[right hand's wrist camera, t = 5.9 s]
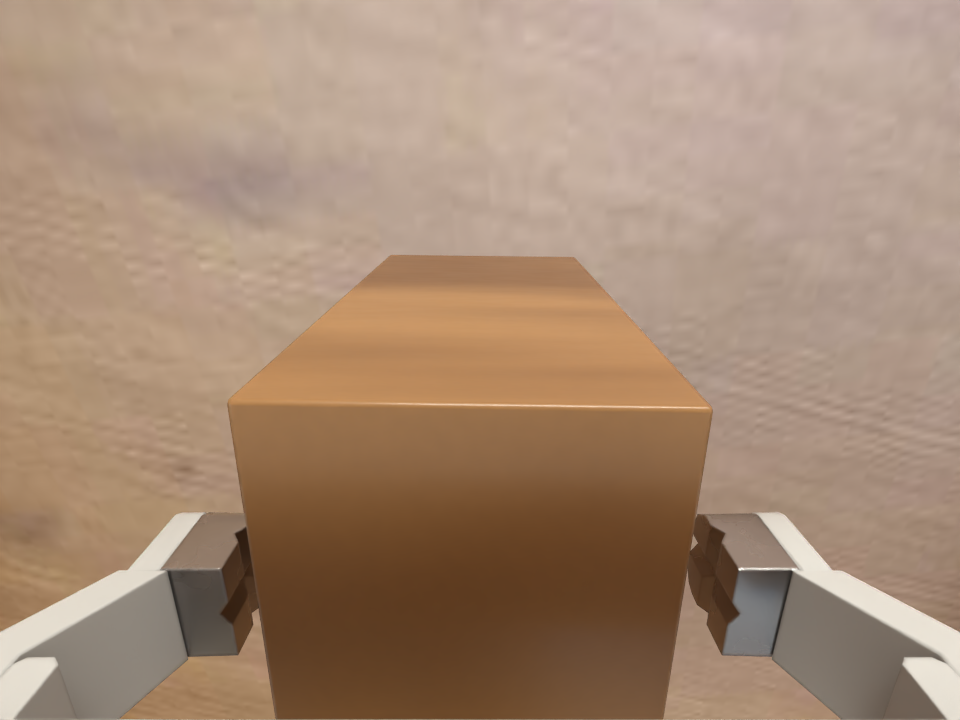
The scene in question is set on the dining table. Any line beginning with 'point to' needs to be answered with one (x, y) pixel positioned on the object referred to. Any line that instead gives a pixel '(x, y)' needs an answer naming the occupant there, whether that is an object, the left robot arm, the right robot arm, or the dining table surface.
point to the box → (470, 499)
